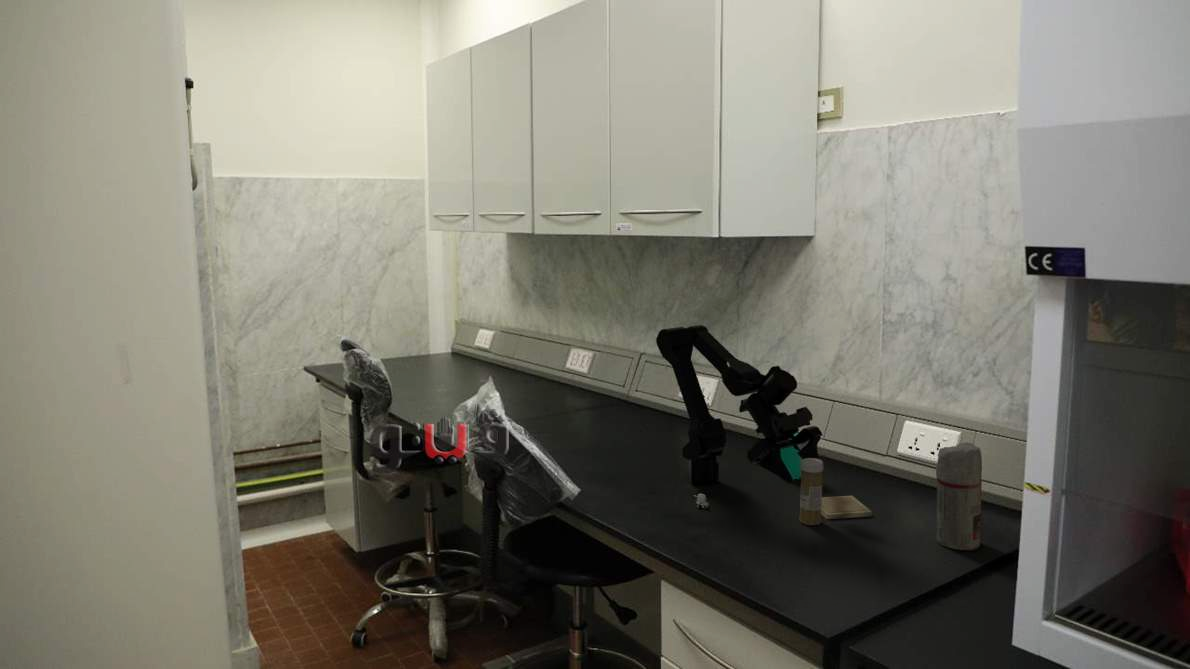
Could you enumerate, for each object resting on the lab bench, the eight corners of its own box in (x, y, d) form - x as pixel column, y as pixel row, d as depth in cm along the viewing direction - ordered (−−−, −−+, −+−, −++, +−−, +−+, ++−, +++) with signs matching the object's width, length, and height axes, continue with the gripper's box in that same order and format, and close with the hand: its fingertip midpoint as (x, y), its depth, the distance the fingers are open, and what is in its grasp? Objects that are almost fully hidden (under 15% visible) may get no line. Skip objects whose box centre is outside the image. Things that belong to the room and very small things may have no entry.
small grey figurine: (708, 507, 181) (708, 494, 180) (704, 511, 178) (704, 497, 178) (696, 505, 182) (696, 492, 182) (691, 509, 180) (691, 495, 179)
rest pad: (826, 519, 171) (826, 514, 171) (809, 502, 181) (809, 497, 181) (871, 516, 172) (871, 511, 172) (851, 499, 182) (851, 495, 182)
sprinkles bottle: (796, 518, 172) (797, 457, 170) (816, 517, 172) (818, 456, 170) (803, 526, 167) (805, 464, 165) (825, 525, 168) (826, 463, 166)
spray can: (960, 555, 152) (966, 453, 149) (925, 540, 160) (929, 442, 156) (990, 546, 156) (996, 446, 153) (954, 532, 163) (959, 436, 160)
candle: (802, 480, 196) (803, 433, 194) (777, 479, 197) (778, 432, 195) (801, 472, 201) (802, 426, 200) (776, 471, 203) (777, 425, 201)
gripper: (757, 402, 166) (798, 467, 159) (816, 389, 177) (857, 449, 169) (729, 432, 174) (768, 495, 166) (788, 418, 184) (826, 476, 177)
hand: (806, 478), depth 170 cm, fingers open, 9 cm apart
